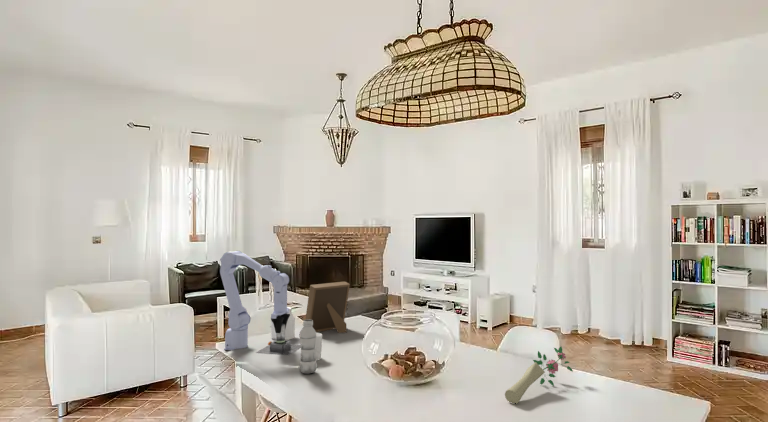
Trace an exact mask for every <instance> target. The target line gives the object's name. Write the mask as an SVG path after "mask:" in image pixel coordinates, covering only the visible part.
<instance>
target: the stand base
mask: <svg viewBox="0 0 768 422" xmlns="http://www.w3.org/2000/svg"><path fill="white" fill-rule="evenodd" d="M298 350H301V344H292V341H291V340H289V339H288V340H285V343H283V344H277V343H276V339H274V341H269V342H268V343H267V346H265V347H262V348H261V349H260V350H258V351H256V352H255V354H264V355H265V354H266V355H279V356H291V355H293V354H294V353H295V352H297V351H298Z"/></svg>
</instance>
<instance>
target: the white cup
mask: <svg viewBox="0 0 768 422" xmlns="http://www.w3.org/2000/svg"><path fill="white" fill-rule="evenodd" d="M322 348H323V334H322V333H320V332H316V343H315V357H316V361H319V360H321V359H322V350H323V349H322Z"/></svg>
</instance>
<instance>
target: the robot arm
mask: <svg viewBox="0 0 768 422" xmlns="http://www.w3.org/2000/svg"><path fill="white" fill-rule="evenodd" d="M219 261H220V267H219V274H220V278H221V281H222V285H223V288H224V292H225V296H226V299H227V304H228V307H229V311H228V314H227V316H228V322H227V323H228V327H229V328H227V329H226V331H225V334H224V348H223V350H225V351H226V350H227V351H233V350H235V349H246V348H248V346H249V345H248V344H249V341H248V340H249V339H248V338H249V335H248V334H249V324H250V323H251V319H252V318H251V316H250V314H249V313H248V310H247V308H246V307H244V306H243V304H242V299H241V297H240V294H239V293H240V292H239V289H238V285H237V281H236V278H235V275H234V272H235V271H236V269H237V268H238V267H239V266H241V265H244V266H247V267H248V268H250V269H252V270H254V271H255V272H258V274H259V275H258V276H260V278H262V279H265V280H266V281H268V282H269V283H271V286H273V311H272V313H271V314H270V321H271V320H272V322H273V324H274V328H275V332H276V333H281V328H282V323H283V324H285V328H286V324H287V321H288V318H289V316H290V314H287V313H289V308H287V307H288V284H289V283H290V276H289V275H288V274H287V273H285V272H281V271H280V270H276V269H275V268H272V267H273V266H272V265H271V264H266V265H263V264H261V263H259V261H257V260H255V259H254V258H251V256H249V255H248V254H246V253H245V252H242V251H241V250H235V251H227V252H224V253H223V254H222V255H221V258H220V260H219Z"/></svg>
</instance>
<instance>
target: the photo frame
mask: <svg viewBox="0 0 768 422" xmlns="http://www.w3.org/2000/svg"><path fill="white" fill-rule="evenodd" d="M350 286H351V284H350V283H349V282H347V281H337V282H326V283H318V284H315V283H314V284H310V285H309V290H308V298H307V307H306V310H305V311H306V312H305V319H304V320H313V326H312V327H313V328H314V330H315V331H316V333H320V332H326V331H330V330H335V329H336V331H337V333H338V334H341V333H342V334H343V333H347V332H348V331H347V322H346V321H345V318H346V311H347V306H348V305H347V304H348V300H349V299H348V298H349V294H350V293H349V292H350Z"/></svg>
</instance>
